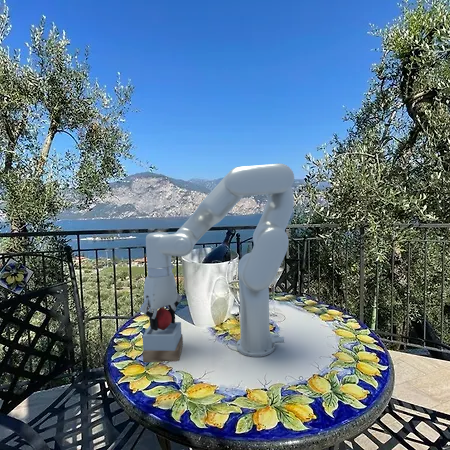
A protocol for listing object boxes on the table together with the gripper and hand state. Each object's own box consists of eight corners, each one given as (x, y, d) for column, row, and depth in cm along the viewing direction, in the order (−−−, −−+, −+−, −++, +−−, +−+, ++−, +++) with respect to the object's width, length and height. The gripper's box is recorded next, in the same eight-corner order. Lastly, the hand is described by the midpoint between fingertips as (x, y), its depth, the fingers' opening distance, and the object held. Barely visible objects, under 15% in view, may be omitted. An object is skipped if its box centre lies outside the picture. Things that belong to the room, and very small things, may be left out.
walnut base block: (182, 345, 107) (182, 334, 106) (178, 362, 96) (178, 350, 95) (151, 346, 107) (150, 335, 106) (143, 364, 96) (142, 351, 95)
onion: (168, 334, 97) (166, 309, 96) (151, 333, 98) (149, 309, 97) (174, 326, 102) (173, 303, 102) (158, 325, 104) (157, 302, 103)
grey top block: (181, 335, 105) (180, 322, 105) (175, 350, 95) (174, 335, 95) (152, 335, 106) (151, 322, 105) (143, 350, 96) (142, 335, 95)
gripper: (174, 264, 107) (177, 314, 109) (129, 275, 95) (133, 331, 97) (188, 267, 102) (191, 320, 104) (142, 279, 89) (146, 338, 91)
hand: (163, 325), depth 100 cm, fingers closed on onion, 5 cm apart
